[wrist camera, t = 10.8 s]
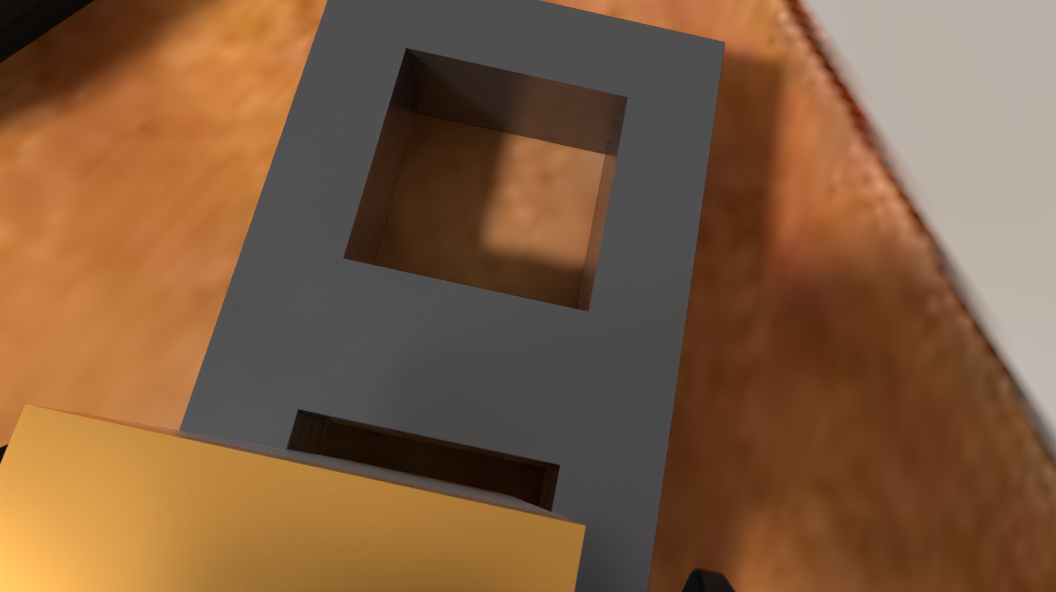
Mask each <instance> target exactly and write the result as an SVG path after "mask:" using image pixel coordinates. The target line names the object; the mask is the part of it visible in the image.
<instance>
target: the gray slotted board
mask: <svg viewBox="0 0 1056 592" xmlns="http://www.w3.org/2000/svg"><path fill="white" fill-rule="evenodd" d="M724 46H725V42H722V41H718V40H713V39H709V38H704V37H700V36H695V35H691V34H686V33H682V32H677V31H673V30H669V29H664V28H660V27H655V26H651V25H646V24H642V23H637V22H633V21H628V20H624V19H619V18H615V17H611V16H606V15H602V14H597V13H593V12H588V11H584V10H579V9H575V8H570V7H566V6H561V5H557V4H553V3H548V2H544V1H539V0H328V1H327V4H326V7H325V9H324V12H323V15H322V18H321V21H320V24H319V27H318V30H317V33H316V36H315V38H314V41H313V44H312V47H311V50H310V53H309V56H308V59H307V62H306V65H305V67H304V70H303V73H302V76H301V79H300V82H299V85H298V88H297V91H296V94H295V96H294V99H293V102H292V105H291V108H290V111H289V114H288V117H287V120H286V123H285V125H284V128H283V131H282V134H281V137H280V140H279V143H278V146H277V149H276V152H275V154H274V157H273V160H272V163H271V166H270V169H269V172H268V175H267V178H266V181H265V183H264V186H263V189H262V192H261V195H260V198H259V201H258V204H257V207H256V210H255V212H254V215H253V218H252V221H251V224H250V227H249V230H248V233H247V236H246V239H245V241H244V244H243V247H242V250H241V253H240V256H239V259H238V262H237V265H236V268H235V270H234V273H233V276H232V279H231V282H230V285H229V288H228V291H227V294H226V297H225V299H224V302H223V305H222V308H221V311H220V314H219V317H218V320H217V323H216V326H215V328H214V331H213V334H212V337H211V340H210V343H209V346H208V349H207V352H206V355H205V357H204V360H203V363H202V366H201V369H200V372H199V375H198V378H197V381H196V384H195V386H194V389H193V392H192V395H191V398H190V401H189V404H188V407H187V410H186V413H185V415H184V418H183V421H182V424H181V427H180V430H179V431H184V432H190V433H196V434H201V435H207V436H213V437H219V438H224V439H230V440H236V441H242V442H247V443H253V444H259V445H265V446H271V447H276V448H282V449H288V450H294V451H299V452H305V453H311V454H317V455H319V454H320V450H321V447H322V443H323V440H324V436H325V433H326V429H327V426H328V422H333V423H338V424H342V425H347V426H352V427H357V428H361V429H366V430H371V431H375V432H380V433H385V434H389V435H394V436H399V437H404V438H408V439H413V440H418V441H422V442H427V443H432V444H436V445H441V446H446V447H451V448H455V449H460V450H465V451H469V452H474V453H479V454H483V455H488V456H493V457H498V458H502V459H507V460H512V461H516V462H521V463H526V464H530V465H535V466H540V467H544V468H546V471H545V476H544V481H543V486H542V492H541V497H540V502H539V507H540V508H543V509H545V510H548V511H550V512H553V513H555V514H558V515H560V516H563V517H565V518H568V519H570V520H573V521H575V522H578V523H580V524H583V525H585V526H586V527H585V533H584V539H583V545H582V550H581V556H580V562H579V567H578V573H577V579H576V585H575V590H574V592H647V591H648V584H649V577H650V570H651V563H652V556H653V549H654V542H655V535H656V528H657V521H658V513H659V506H660V499H661V492H662V485H663V478H664V471H665V464H666V457H667V450H668V443H669V436H670V429H671V421H672V414H673V407H674V400H675V393H676V386H677V379H678V372H679V365H680V358H681V351H682V344H683V337H684V329H685V322H686V315H687V308H688V301H689V294H690V287H691V280H692V273H693V266H694V259H695V252H696V245H697V237H698V230H699V223H700V216H701V209H702V202H703V195H704V188H705V181H706V174H707V167H708V160H709V153H710V145H711V138H712V131H713V124H714V117H715V110H716V103H717V96H718V89H719V82H720V75H721V68H722V61H723V53H724ZM416 112H417V113H421V114H426V115H430V116H435V117H439V118H444V119H448V120H453V121H457V122H462V123H466V124H471V125H475V126H480V127H484V128H489V129H494V130H498V131H503V132H507V133H512V134H516V135H521V136H525V137H530V138H534V139H539V140H543V141H548V142H552V143H557V144H561V145H566V146H571V147H575V148H580V149H584V150H589V151H593V152H598V153H602V154H606V155H605V160H604V165H603V170H602V176H601V181H600V186H599V191H598V197H597V202H596V207H595V213H594V218H593V223H592V228H591V234H590V239H589V244H588V249H587V255H586V260H585V265H584V270H583V276H582V281H581V286H580V292H579V297H578V302H577V307H576V309H574V308H569V307H565V306H560V305H556V304H551V303H546V302H542V301H537V300H533V299H528V298H523V297H519V296H514V295H509V294H505V293H500V292H496V291H491V290H486V289H482V288H477V287H473V286H468V285H463V284H459V283H454V282H450V281H445V280H440V279H436V278H431V277H426V276H422V275H417V274H413V273H408V272H403V271H399V270H394V269H390V268H385V267H380V266H376V265H373V264H374V260H375V257H376V253H377V250H378V246H379V243H380V239H381V236H382V232H383V229H384V225H385V222H386V218H387V215H388V211H389V207H390V204H391V200H392V197H393V193H394V190H395V186H396V183H397V179H398V176H399V172H400V169H401V165H402V162H403V158H404V155H405V151H406V148H407V144H408V141H409V137H410V133H411V130H412V126H413V123H414V119H415V116H416Z"/></svg>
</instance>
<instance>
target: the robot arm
mask: <svg viewBox="0 0 1056 592" xmlns="http://www.w3.org/2000/svg"><path fill="white" fill-rule="evenodd" d="M7 447H8V444H7V445H5V446H3V447H0V463H1V461H2V459H3V456H4V454H5V451H6V449H7ZM682 592H735V590H734V589H733V587H732V586H731V584H730V583H729V581H728V580H727V578H726V577H725V576H724V575H723V574H721V573H719V572H715V571H710V570H705V569H701V568H696V569H694V570H693V571H692V572H691V574H690V576H689V578H688V580H687V582H686V584H685V586H684V588H683V590H682Z"/></svg>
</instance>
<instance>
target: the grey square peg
mask: <svg viewBox="0 0 1056 592" xmlns="http://www.w3.org/2000/svg"><path fill="white" fill-rule="evenodd" d="M585 527H586V526H585V525H583V524H580V523H578V522H575V521H573V520H570V519H568V518H565V517H563V516H560V515H558V514H555V513H553V512H550V511H548V510H545V509H543V508H540V507H538V506H535V505H533V504H530V503H528V502H525V501H523V500H520V499H518V498H515V497H513V496H510V495H507V494H503V493H498V492H494V491H489V490H485V489H480V488H475V487H471V486H466V485H462V484H457V483H452V482H448V481H443V480H439V479H434V478H429V477H425V476H420V475H416V474H411V473H406V472H402V471H397V470H393V469H388V468H383V467H379V466H374V465H370V464H365V463H360V462H356V461H351V460H346V459H340V458H334V457H328V456H322V455H317V454H311V453H305V452H299V451H294V450H288V449H282V448H276V447H271V446H265V445H259V444H253V443H247V442H242V441H236V440H230V439H224V438H219V437H213V436H207V435H201V434H196V433H190V432H184V431H178V430H172V429H167V428H161V427H155V426H149V425H144V424H138V423H132V422H126V421H120V420H115V419H109V418H103V417H97V416H92V415H86V414H80V413H74V412H69V411H63V410H57V409H51V408H45V407H40V406H34V405H28V404H25V406H24V408H23V411H22V413H21V416H20V418H19V420H18V423H17V425H16V428H15V430H14V432H13V435H12V437H11V440H10V442H9V444H8V447H7V449H6V451H5V454H4V456H3V459H2V461H1V463H0V592H574V590H575V585H576V579H577V573H578V567H579V562H580V556H581V550H582V545H583V539H584V533H585Z"/></svg>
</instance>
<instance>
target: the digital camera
mask: <svg viewBox="0 0 1056 592" xmlns="http://www.w3.org/2000/svg"><path fill="white" fill-rule="evenodd" d="M92 1H93V0H0V63H1V62H2V61H4V60H5V59H7V58H8V57H10V56H11V55H13V54H14V53H16V52H17V51H19V50H20V49H22V48H23V47H25V46H26V45H28V44H29V43H30V42H32V41H33V40H35V39H36V38H38V37H39V36H41V35H42V34H44V33H45V32H47V31H48V30H50V29H51V28H53V27H54V26H56V25H57V24H59V23H60V22H62V21H63V20H65V19H66V18H68V17H69V16H71V15H72V14H74V13H75V12H77V11H78V10H80V9H81V8H83V7H84V6H86V5H87V4H89V3H90V2H92Z"/></svg>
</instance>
